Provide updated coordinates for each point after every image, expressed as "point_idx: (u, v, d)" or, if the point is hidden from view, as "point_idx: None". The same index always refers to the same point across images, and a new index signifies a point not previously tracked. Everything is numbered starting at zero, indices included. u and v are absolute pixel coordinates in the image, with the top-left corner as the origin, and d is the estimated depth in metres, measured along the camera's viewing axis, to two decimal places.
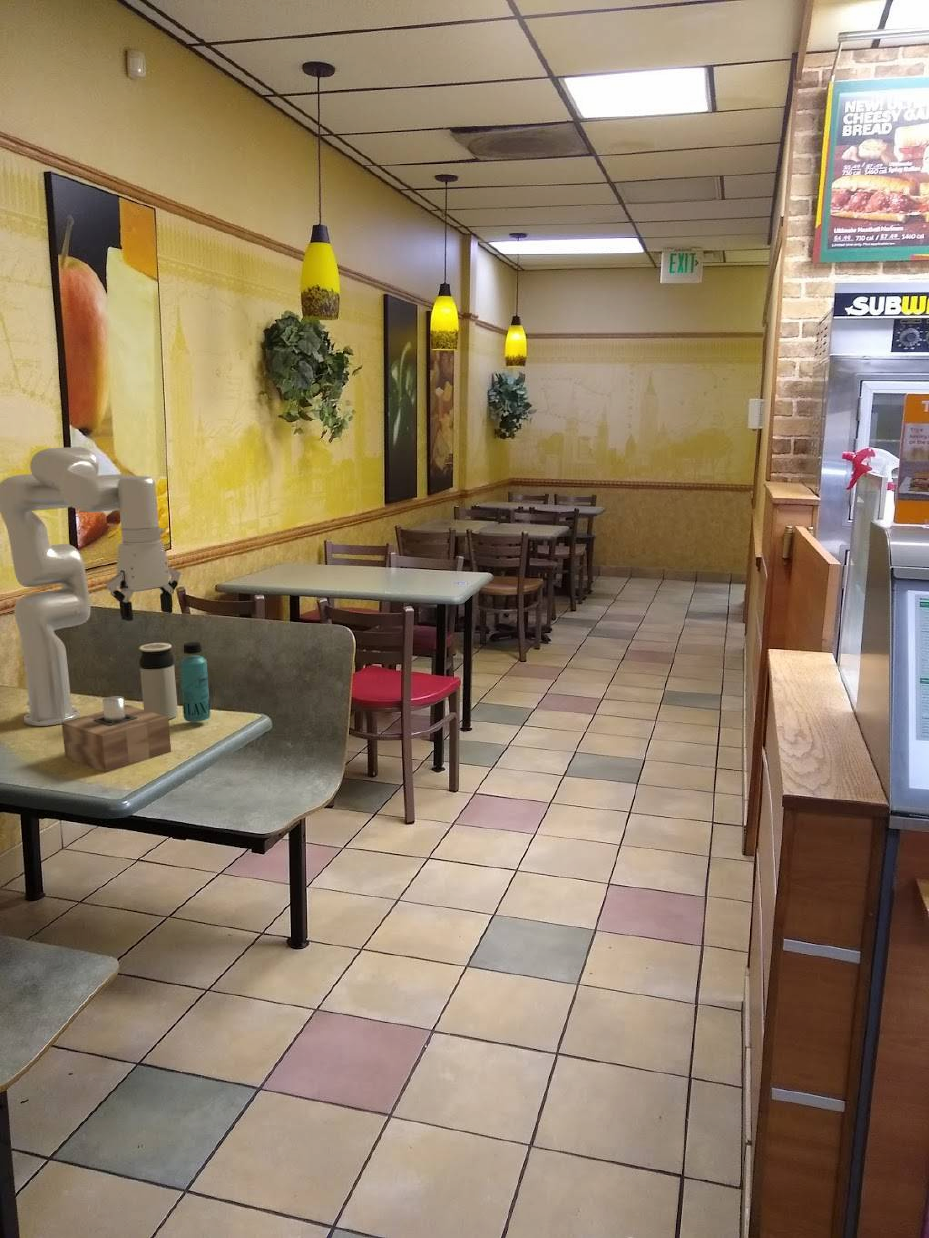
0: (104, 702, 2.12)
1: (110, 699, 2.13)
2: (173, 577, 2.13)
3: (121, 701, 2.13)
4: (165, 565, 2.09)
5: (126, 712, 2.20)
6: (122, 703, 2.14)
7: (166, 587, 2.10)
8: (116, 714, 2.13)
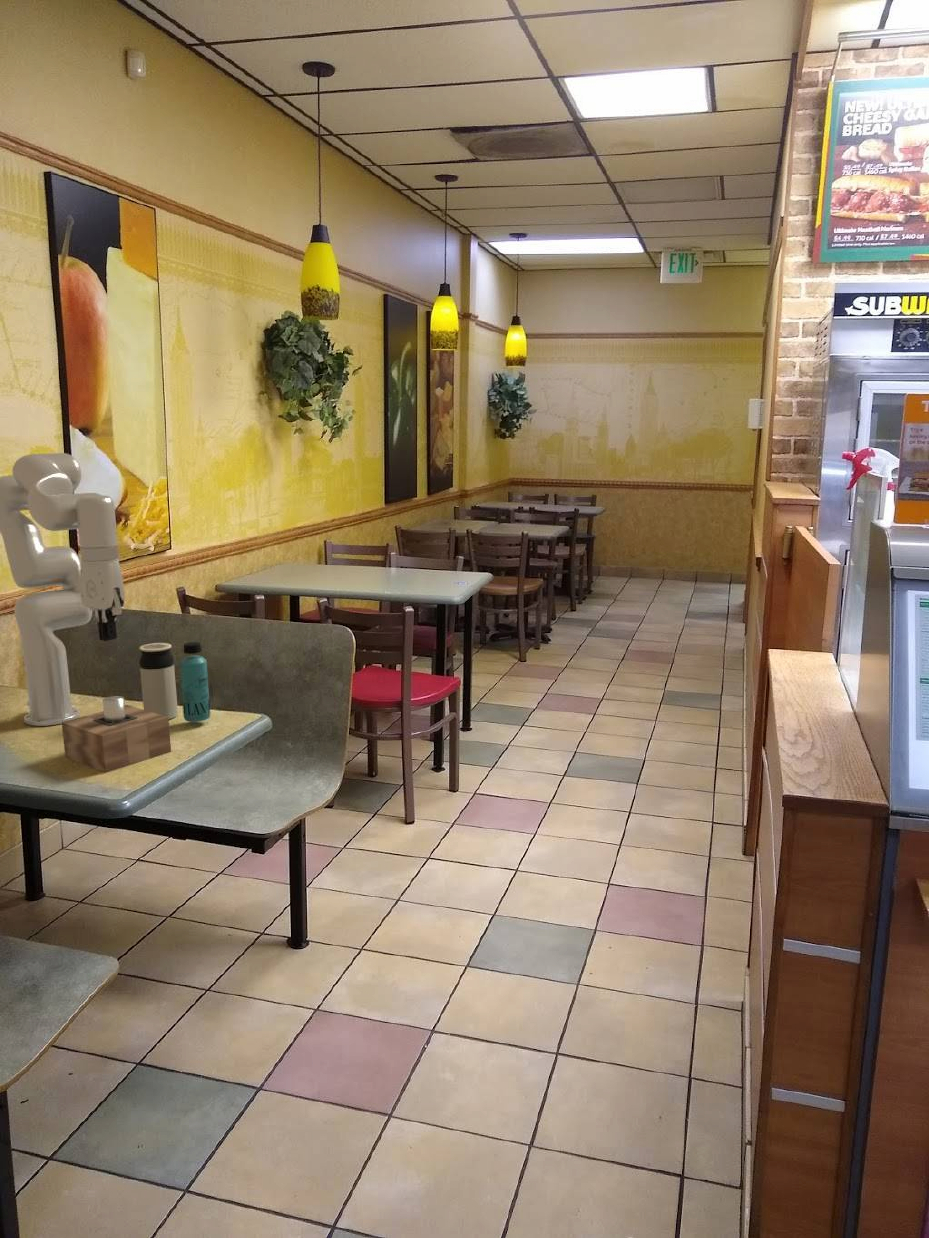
0: (104, 702, 2.12)
1: (110, 699, 2.13)
2: None
3: (121, 701, 2.13)
4: None
5: (126, 712, 2.20)
6: (122, 703, 2.14)
7: None
8: (116, 714, 2.13)
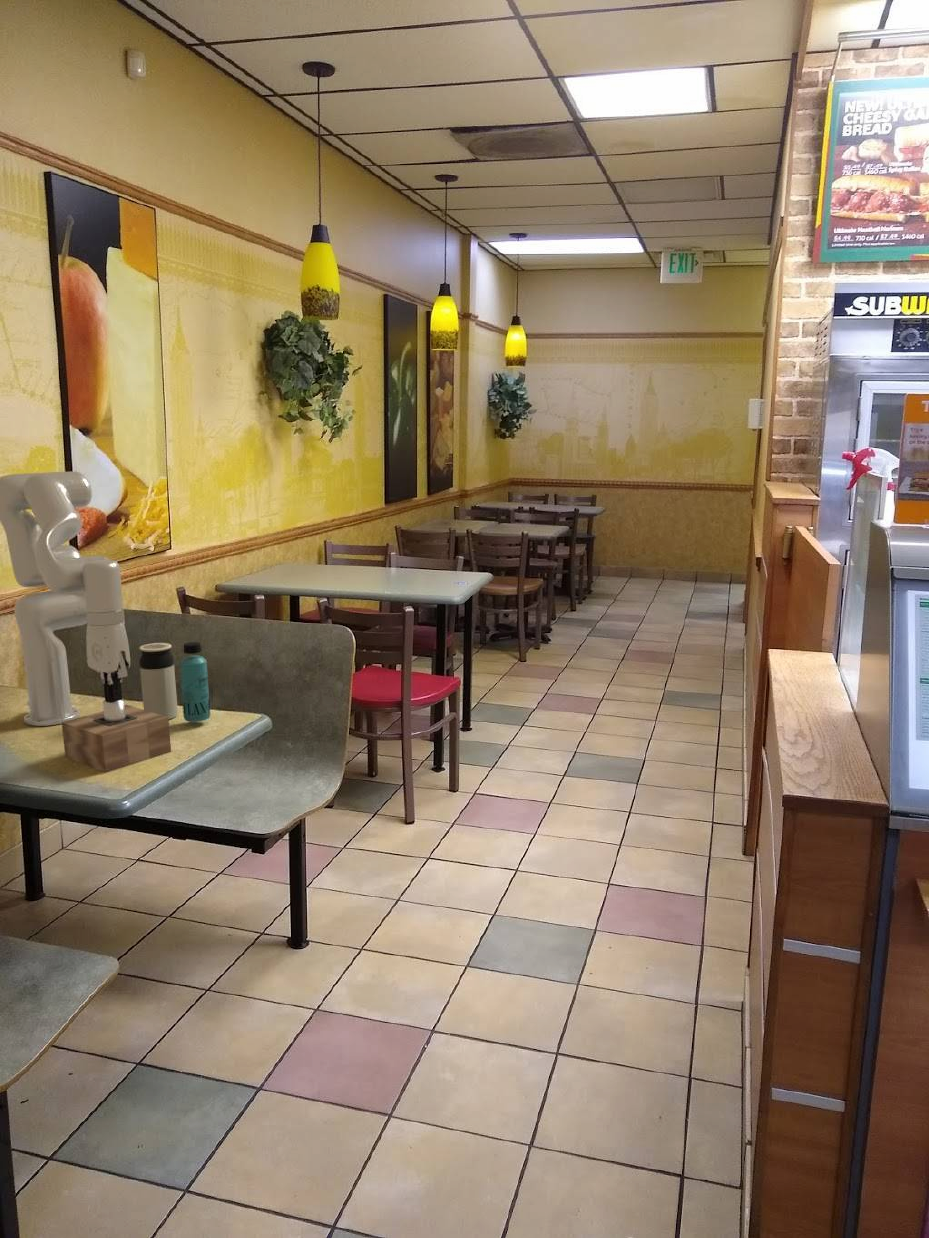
0: (104, 704, 2.13)
1: None
2: None
3: (121, 703, 2.13)
4: None
5: (126, 712, 2.20)
6: (122, 705, 2.14)
7: None
8: (116, 716, 2.13)
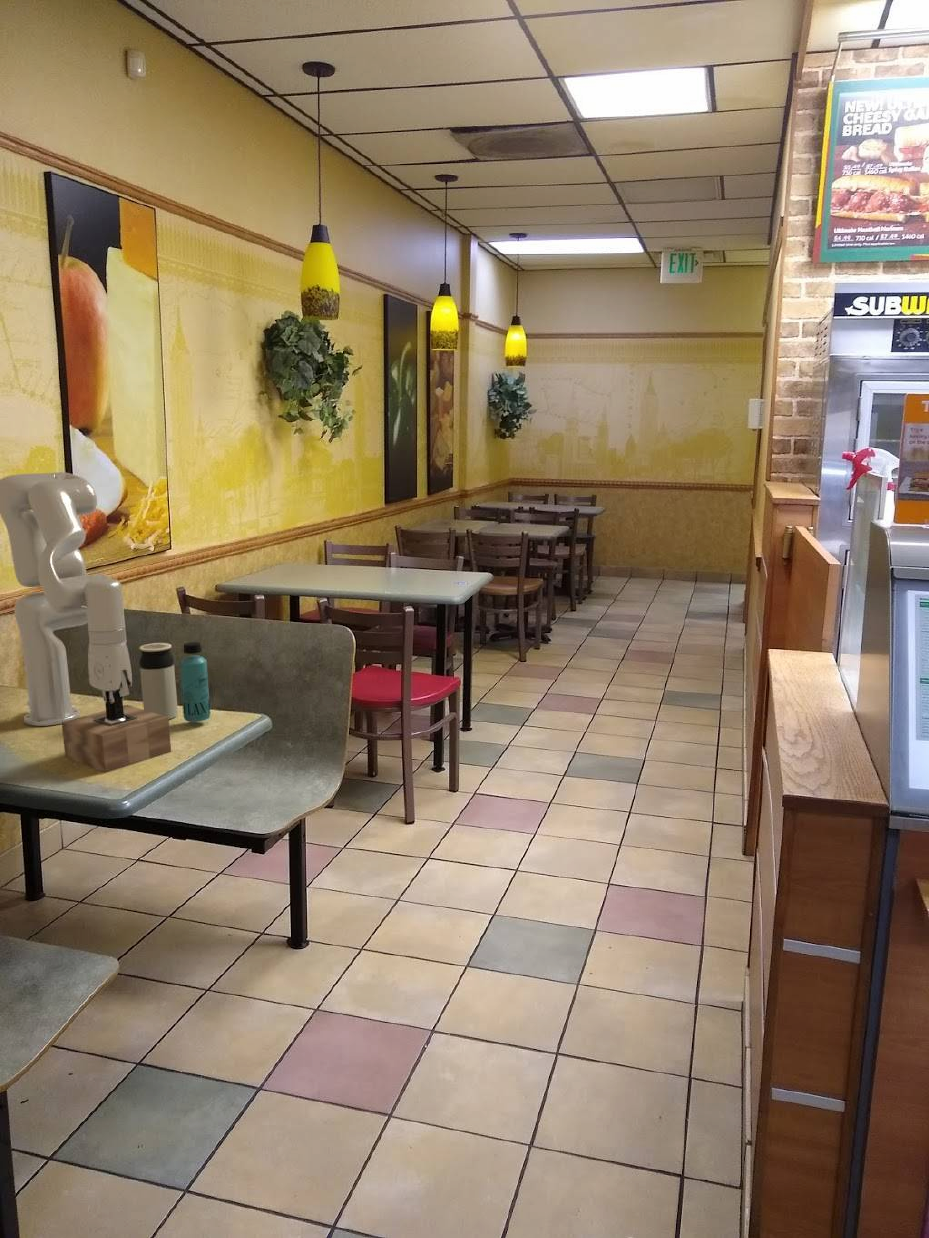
0: None
1: None
2: None
3: None
4: None
5: (126, 712, 2.20)
6: None
7: None
8: None
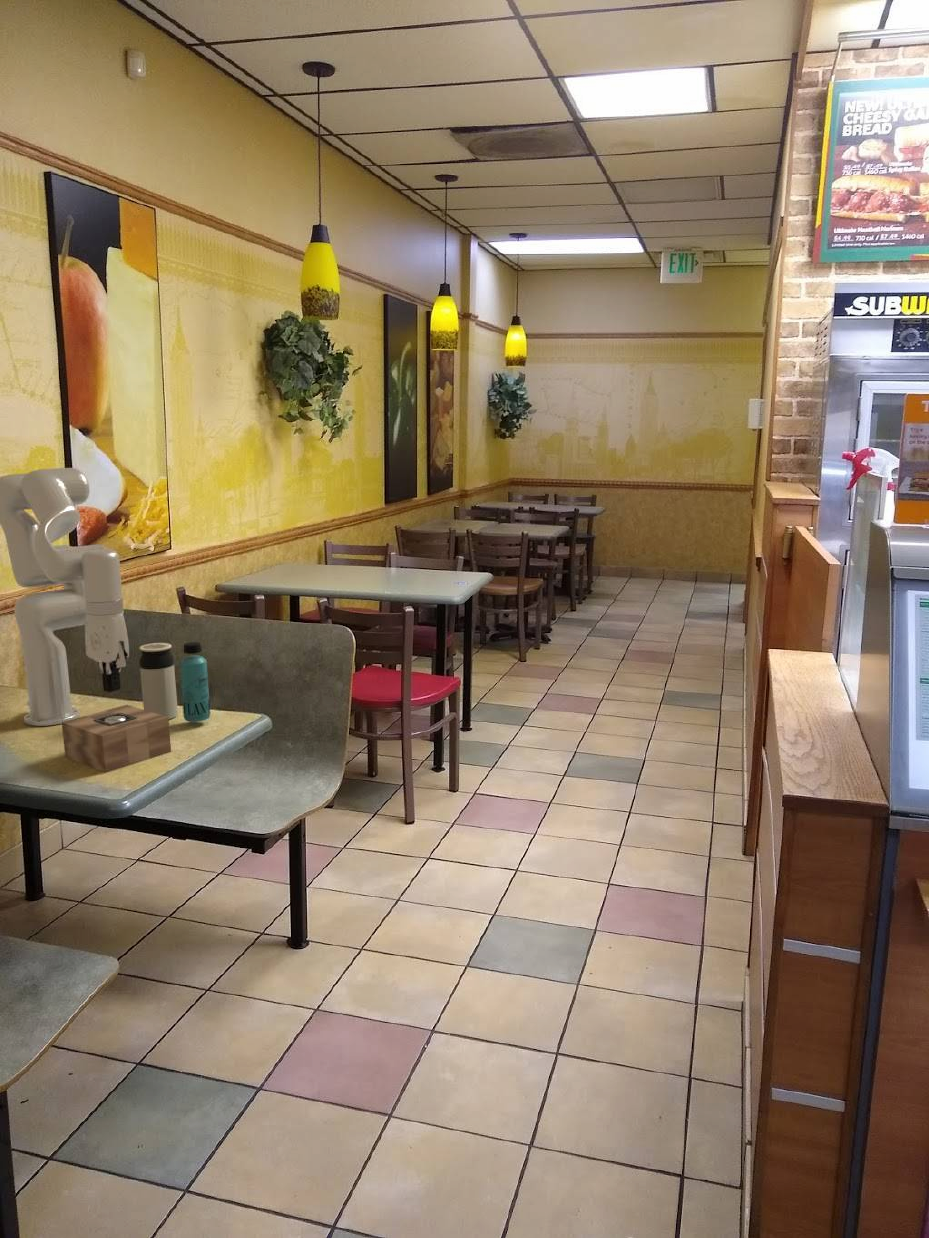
0: None
1: (112, 719, 2.14)
2: None
3: None
4: None
5: (126, 712, 2.20)
6: None
7: None
8: None
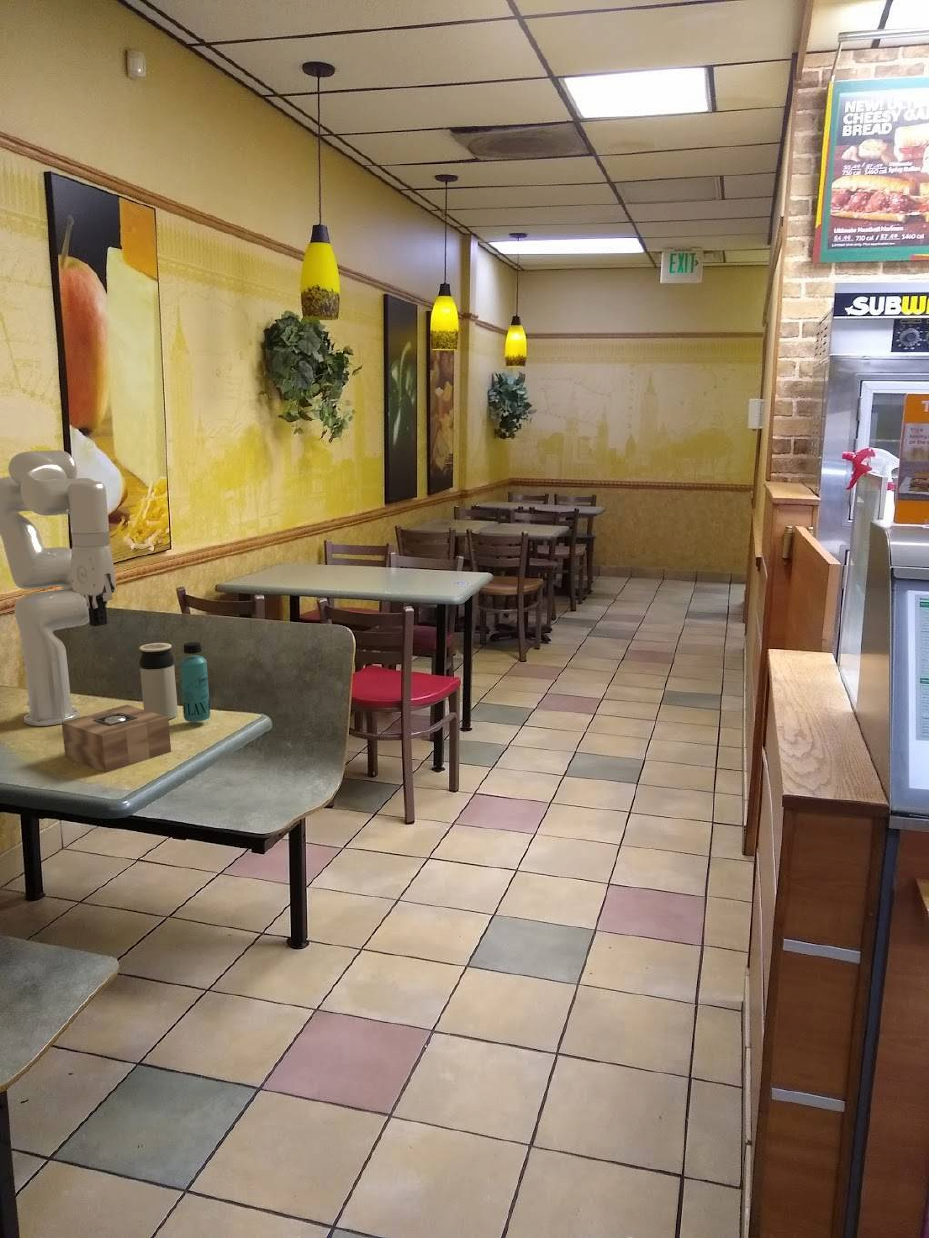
0: None
1: (112, 719, 2.14)
2: None
3: None
4: None
5: (126, 712, 2.20)
6: None
7: None
8: None
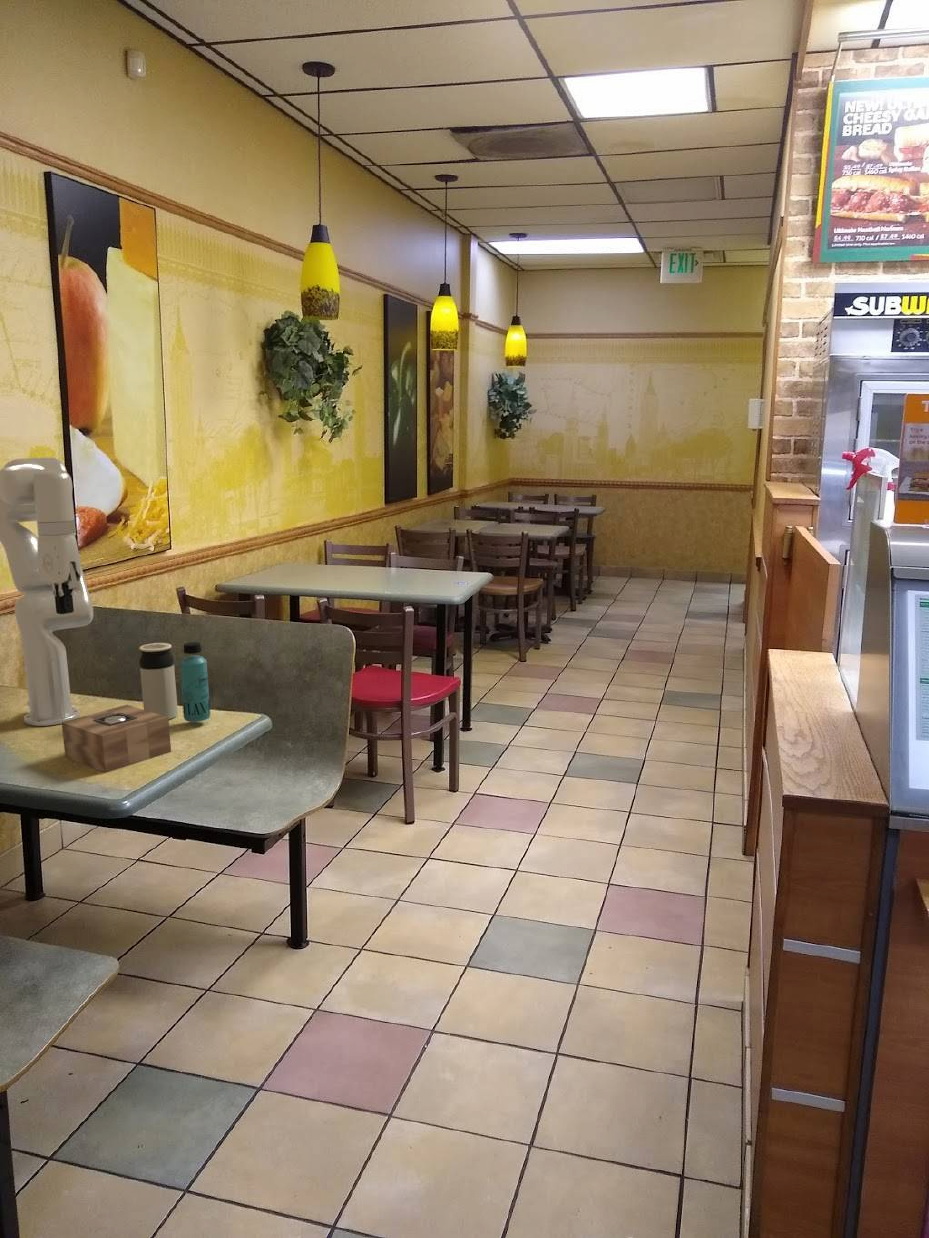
0: None
1: (112, 719, 2.14)
2: None
3: None
4: None
5: (126, 712, 2.20)
6: None
7: None
8: None
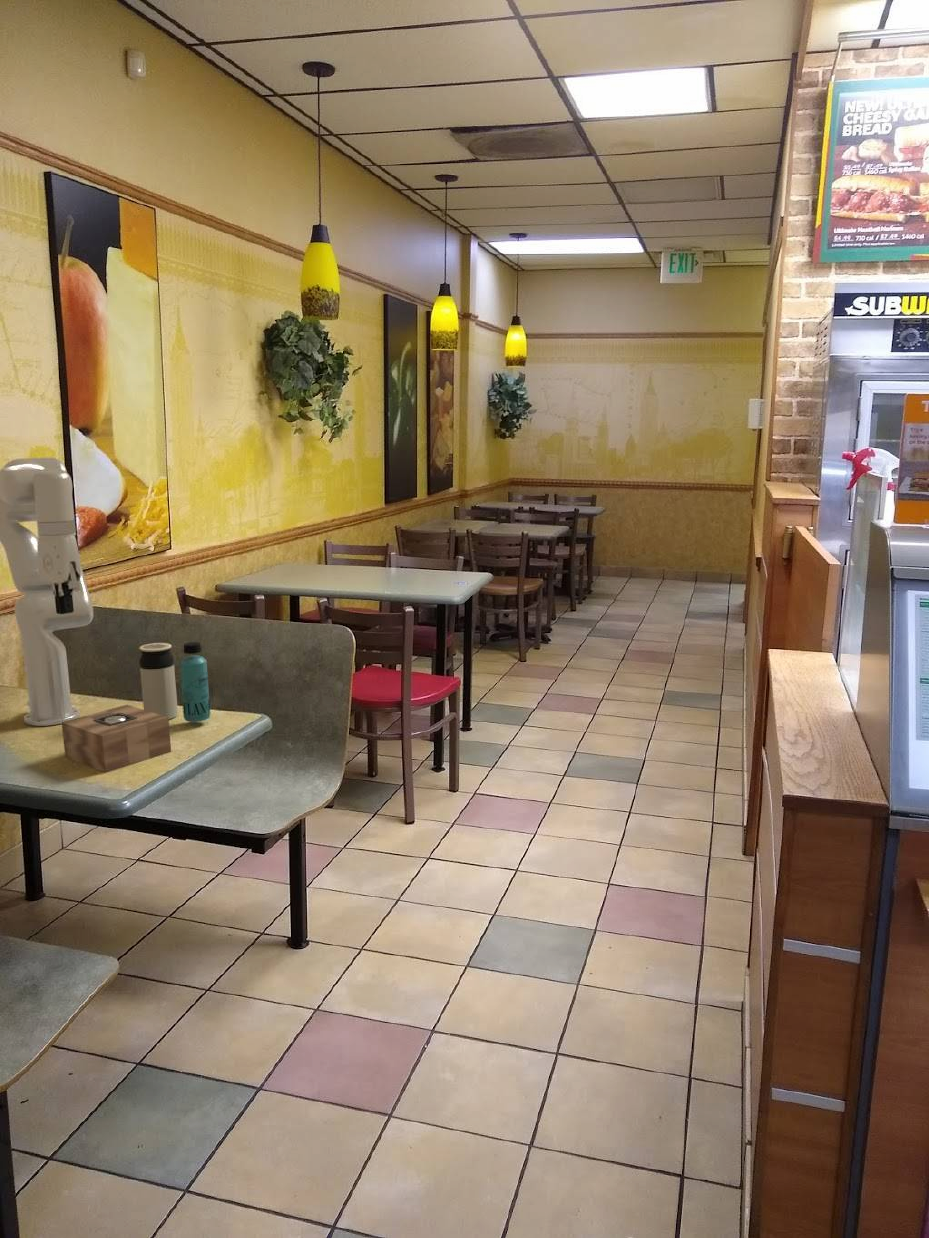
0: None
1: (112, 719, 2.14)
2: None
3: None
4: None
5: (126, 712, 2.20)
6: None
7: None
8: None
